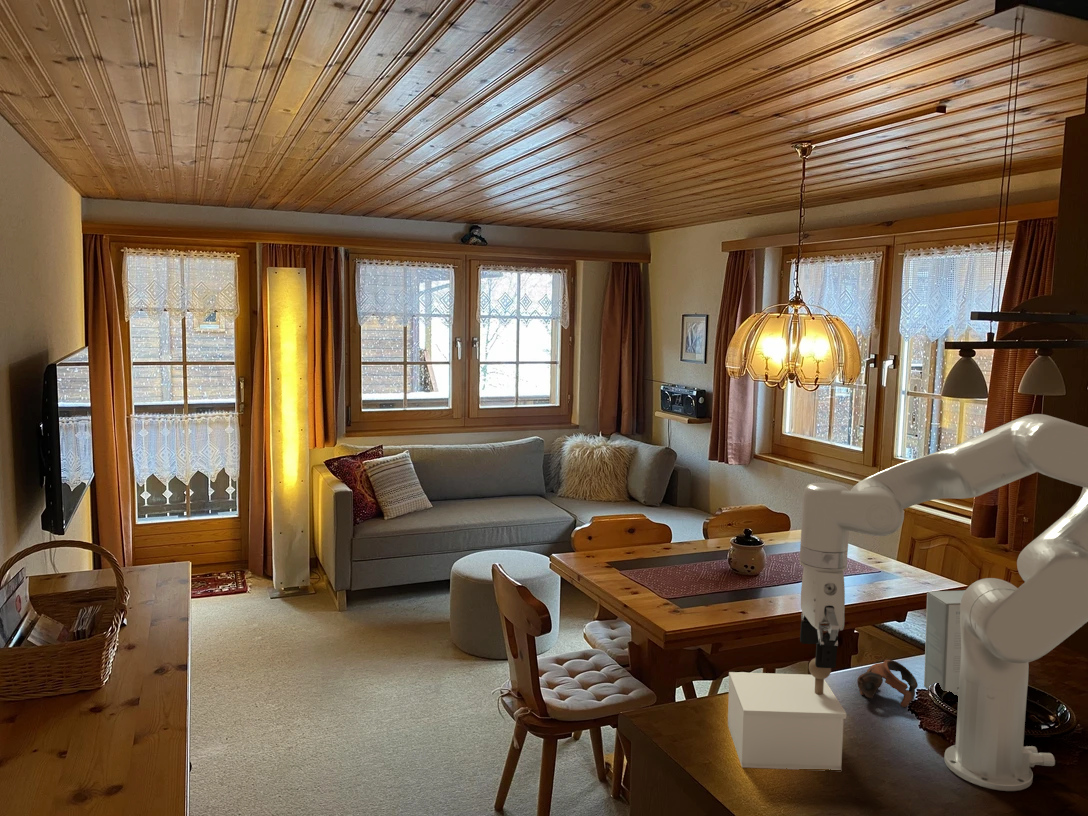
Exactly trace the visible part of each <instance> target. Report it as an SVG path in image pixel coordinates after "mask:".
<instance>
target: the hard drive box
mask: <svg viewBox="0 0 1088 816" xmlns="http://www.w3.org/2000/svg"><path fill="white" fill-rule="evenodd" d="M965 591H966V589H964V590H940V591H939V590H936V591H933V590H931V591H927V592H926V615H925V616H926V618H925V619H926V621H925V641H924V642H925V646H924V647H925V649H924V650H925V651H924V674H923V675H924V677H923V687H925V688H926V689H927V688H929V686H930V685H932V684H933V683H939V685H940V687H941V689H942V690H943V691H947V692H949V691H950V692H952V693H953V694H954V695H957V696H959V678H960V666H961V628H960V604H961V599H962V596H963V594H964V592H965Z"/></svg>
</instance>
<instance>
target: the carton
mask: <svg viewBox="0 0 1088 816" xmlns="http://www.w3.org/2000/svg"><path fill="white" fill-rule="evenodd" d="M727 700H728V707H727V709H728V710H727V726H728V730H729V733H730V736H731V739H732V742H733V744H734V747H735V750H736V754H737V757H738V760H739V763H740V766H741V768H749V769H750V768H751V769H772V770H773V769H774V770H775V769H778V770H799V769H829V770H830V769H831V770H841V771H842V760H843V738H844V737H843V735H844V719H843V718H814V717H785V716H756V715H743V712H742V710H741V707H740V704H739V702H738V699H737V696H736V694H735V691H734V688H733V686H732V683H731V681H730V678H729V677H728V699H727ZM786 768H787V769H786Z"/></svg>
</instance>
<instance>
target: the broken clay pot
mask: <svg viewBox="0 0 1088 816" xmlns="http://www.w3.org/2000/svg"><path fill="white" fill-rule="evenodd" d="M892 671H894V672H900V676H901V680H900V679H899V678H898V677H897V676H896V675H894V673H892ZM915 677H916V676H914V675H913V673H912V672H911V671H910V670H909V669H908V668H907V667H906V666H904V665H903V664H902V663H900V662H897V661H895V660H894V659H885V660H884V661H883V662H878V663H875V664H873V665H871V666H870V667H869V668H868V669H867V671H866V672H864V673H862V674H861V675H859V676H858V678H857V687H858V689H859V690H858V691H859V694H860V695H863V696H865V697H866V698H869V699H873V698H874V697H875V694H876V692H877V690H879V688H880V687H882V684H883V682H885V683H886V684H887V685H888V686H890V687H891V688H893V689H895V690H896V691H897V692H898V693H900V694H902V695H903V697H902V700H901V702H900V706H901V707H902V708H906V707H908V706H909V705H910V702H913V701H914V699H915V696H916V689H917V688H918V686H919V685H918V681H917V678H915ZM883 679H885V681H883ZM904 681H905V682H907V683H905V682H904ZM908 686H909V687H908Z"/></svg>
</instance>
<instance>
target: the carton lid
mask: <svg viewBox="0 0 1088 816" xmlns="http://www.w3.org/2000/svg"><path fill="white" fill-rule="evenodd" d="M815 659H816V657H814V658H811V660H810V661H809V663H808V671H809V673H810V674H808V673H807V674H803V673H801V674H800V673H799V674H798V673H772V672H771V673H769V672H767V673H766V672H742V671H741V672H737V671H736V672H735V671H729V672H728V679H729V678H730V681H731V683H732V686H733V688H734V691H735V694H736V696H737V699H738V702H739V704H740V707H741V710H742V712H743V715H756V716H785V717H814V718H843V720H844V719H847V712H846V710H845V709H844V708H843V706H842V705H841V703H840V701H839V700H838V699H837V697H836V695H835V694H834V692H833V691H832V689H831V688H830V686H829V684H828V683H827V682H826V680H825V679H828V677H829V676H830V675H831V673H832V668H818V667H816V665H815Z"/></svg>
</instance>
